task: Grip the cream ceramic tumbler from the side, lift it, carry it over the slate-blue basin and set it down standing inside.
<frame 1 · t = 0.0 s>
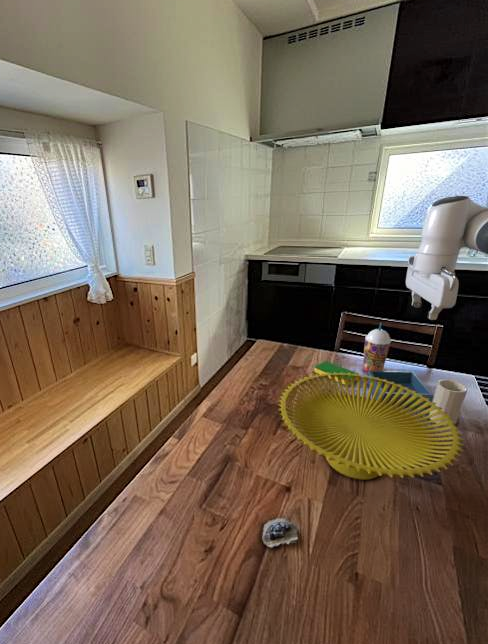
hand: (423, 312, 94), 32 cm above the table, tool pointing down, fingers open, 8 cm apart
smoothie: (371, 371, 128), on the table
yellow slatted bowl: (353, 459, 89), on the table
cup: (442, 419, 101), on the table
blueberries: (278, 535, 71), on the table
dish sponge: (335, 376, 127), on the table
basin: (396, 393, 114), on the table
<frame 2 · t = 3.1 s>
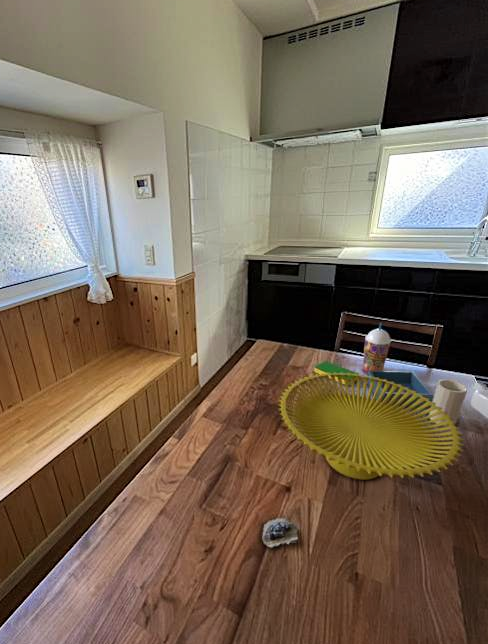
nothing on the table moved.
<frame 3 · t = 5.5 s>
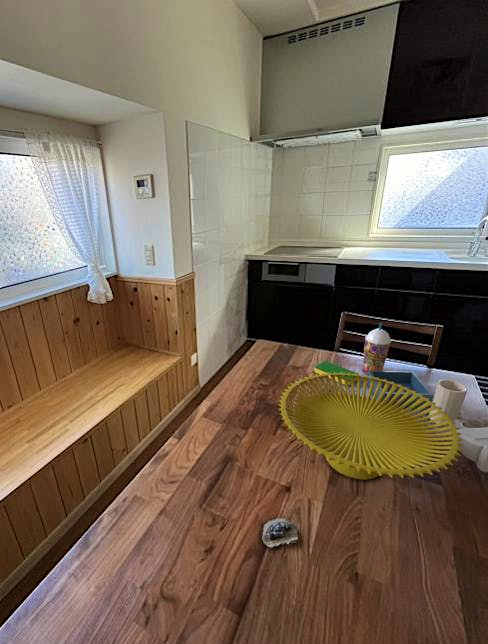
hand: (474, 420, 89), 7 cm above the table, tool horizontal, fingers open, 8 cm apart
nothing on the table moved.
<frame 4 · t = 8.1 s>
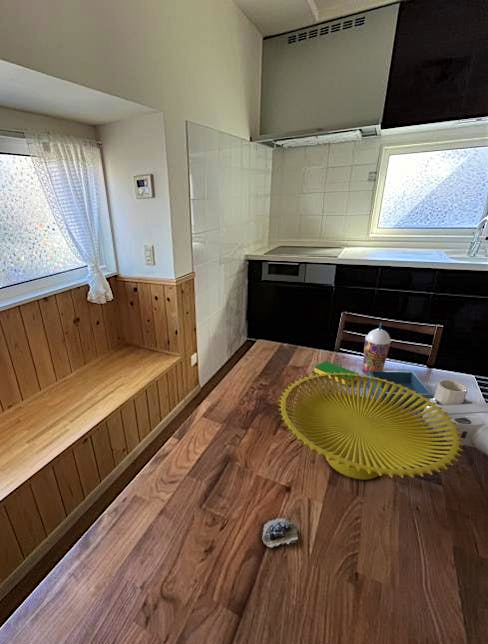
hand: (445, 399, 99), 7 cm above the table, tool horizontal, fingers closed on cup, 7 cm apart
cup: (442, 419, 101), on the table, touching gripper
everything else where it was.
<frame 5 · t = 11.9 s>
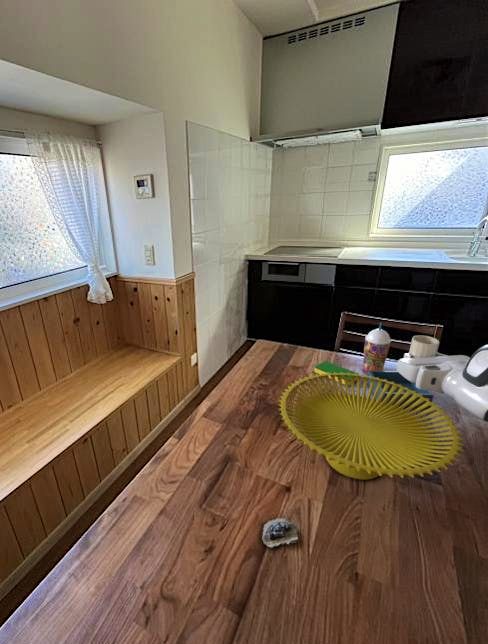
hand: (419, 354, 104), 17 cm above the table, tool horizontal, fingers closed on cup, 7 cm apart
cup: (416, 374, 105), point 10 cm above the table, touching gripper
everything else where it was.
when the fingers open (7 cm above the table, at t = 15.9 s): cup stays where it is, resting on basin.
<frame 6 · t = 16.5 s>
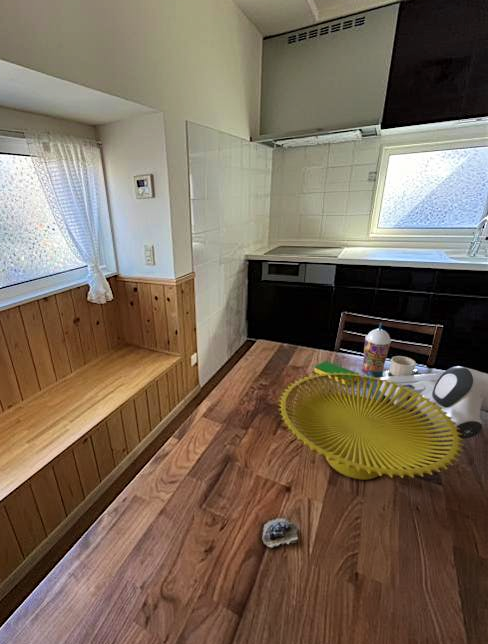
hand: (399, 372, 112), 8 cm above the table, tool horizontal, fingers open, 8 cm apart
cup: (396, 392, 114), point 1 cm above the table, touching basin
everything else where it was.
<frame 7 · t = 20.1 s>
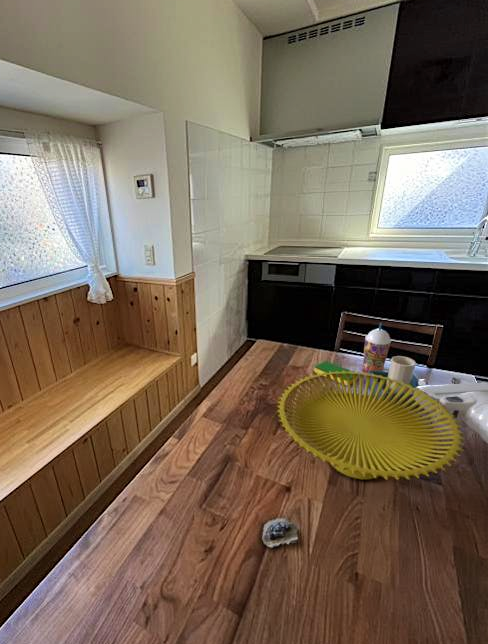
hand: (437, 380, 96), 14 cm above the table, tool horizontal, fingers open, 8 cm apart
yellow slatted bowl: (355, 458, 89), on the table, touching arm
everything else where it was.
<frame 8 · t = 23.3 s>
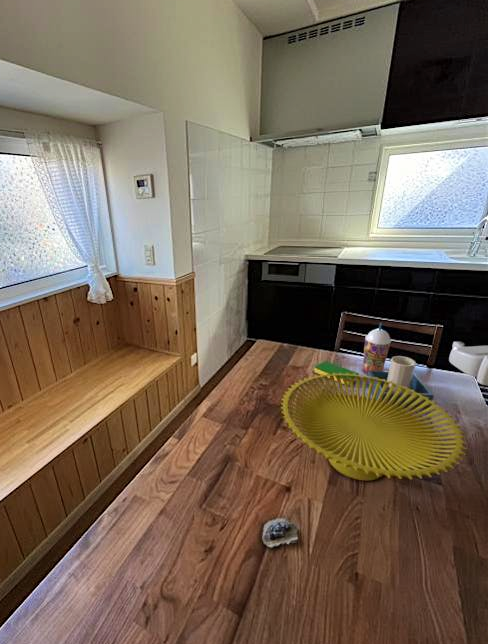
hand: (474, 343, 85), 28 cm above the table, tool horizontal, fingers open, 8 cm apart
yellow slatted bowl: (355, 460, 89), on the table
everything else where it was.
at the end: cup inside the target area in the basin (0.1 cm from its centre), point 0.8 cm above the basin's base; cup tilted 0°; the gripper is holding nothing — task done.
